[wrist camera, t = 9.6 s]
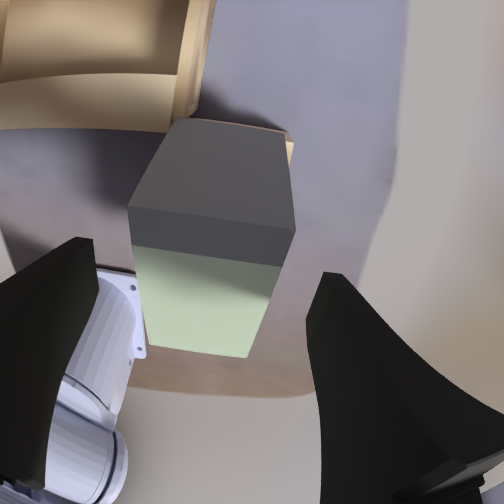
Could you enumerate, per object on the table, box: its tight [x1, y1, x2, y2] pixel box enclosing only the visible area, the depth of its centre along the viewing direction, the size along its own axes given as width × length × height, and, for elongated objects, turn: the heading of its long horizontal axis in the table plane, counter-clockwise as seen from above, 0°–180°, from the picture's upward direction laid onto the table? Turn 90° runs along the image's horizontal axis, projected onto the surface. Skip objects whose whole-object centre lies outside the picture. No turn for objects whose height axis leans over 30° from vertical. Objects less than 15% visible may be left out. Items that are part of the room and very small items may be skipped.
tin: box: [127, 117, 296, 358], centre depth 13 cm, size 8×4×6 cm, turn 170°
